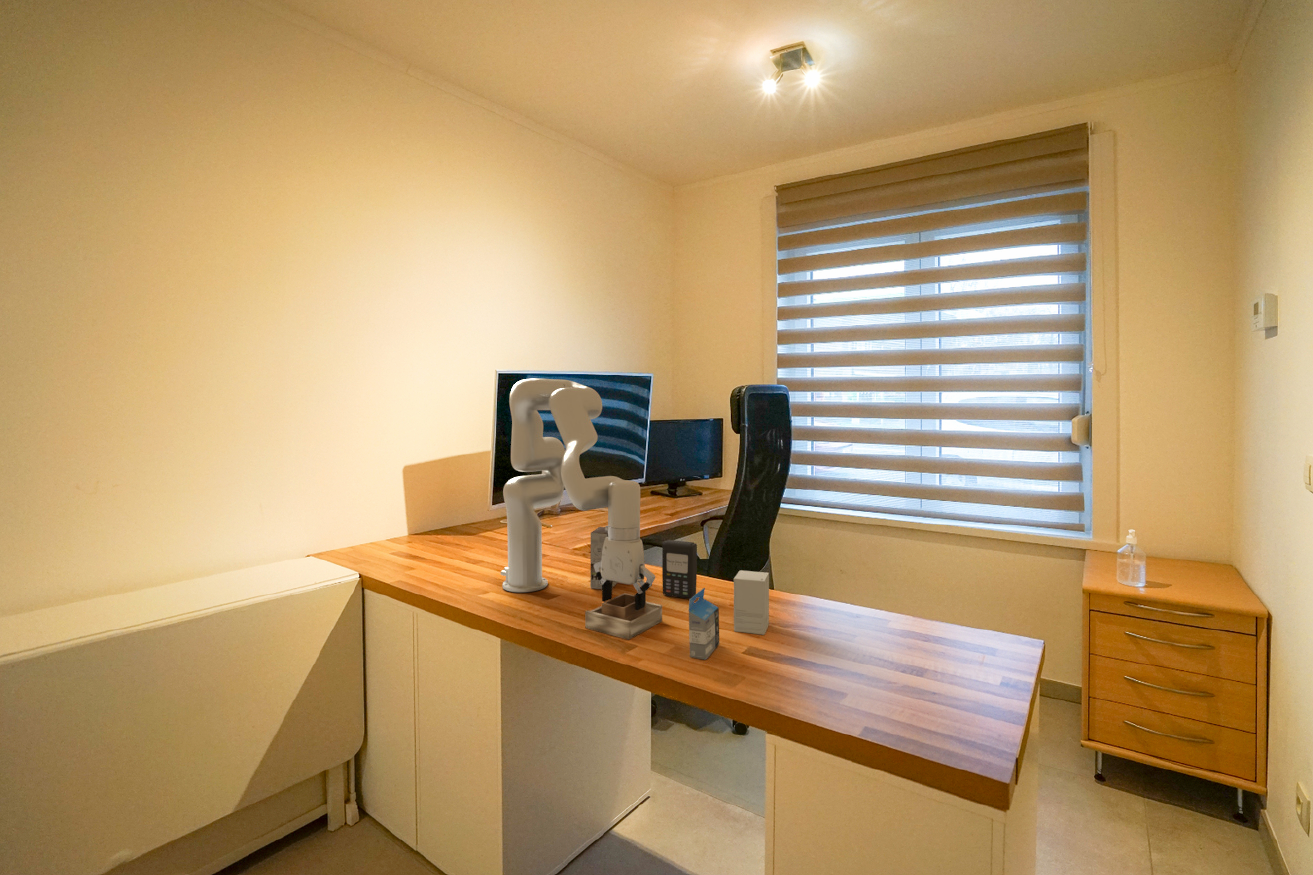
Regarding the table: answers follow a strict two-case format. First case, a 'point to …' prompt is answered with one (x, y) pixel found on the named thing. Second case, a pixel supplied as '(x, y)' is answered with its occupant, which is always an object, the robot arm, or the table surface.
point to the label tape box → (703, 626)
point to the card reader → (679, 568)
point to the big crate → (623, 622)
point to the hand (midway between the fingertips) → (623, 604)
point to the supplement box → (751, 602)
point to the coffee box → (597, 555)
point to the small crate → (622, 607)
